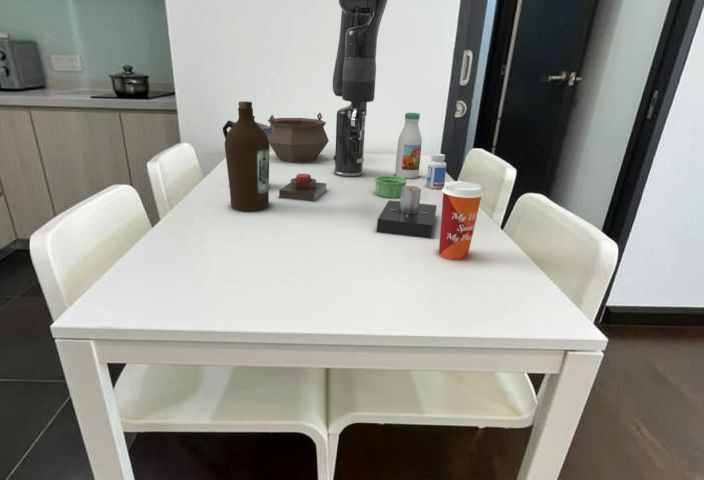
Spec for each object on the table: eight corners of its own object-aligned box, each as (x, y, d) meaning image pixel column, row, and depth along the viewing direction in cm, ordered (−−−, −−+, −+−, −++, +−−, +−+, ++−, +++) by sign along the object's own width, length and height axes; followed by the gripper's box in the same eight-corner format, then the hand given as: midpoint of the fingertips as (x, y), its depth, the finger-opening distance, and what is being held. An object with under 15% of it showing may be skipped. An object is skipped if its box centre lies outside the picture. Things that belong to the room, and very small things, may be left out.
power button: (299, 179, 131) (299, 173, 130) (312, 180, 130) (312, 174, 129) (294, 182, 127) (294, 176, 126) (308, 183, 126) (308, 177, 125)
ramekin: (369, 196, 131) (370, 180, 129) (379, 188, 138) (380, 174, 136) (400, 200, 128) (402, 184, 126) (408, 192, 135) (410, 177, 133)
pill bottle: (446, 186, 143) (450, 154, 139) (439, 190, 139) (444, 157, 135) (430, 183, 146) (433, 152, 142) (423, 187, 142) (426, 154, 138)
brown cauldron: (303, 150, 190) (304, 108, 183) (341, 161, 174) (343, 115, 167) (252, 156, 176) (250, 111, 169) (288, 168, 160) (287, 118, 153)
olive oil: (221, 210, 114) (213, 102, 104) (239, 199, 124) (233, 99, 113) (262, 214, 112) (258, 105, 102) (276, 202, 122) (274, 101, 111)
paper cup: (450, 264, 88) (461, 192, 82) (425, 250, 94) (434, 182, 88) (481, 258, 91) (494, 188, 86) (455, 245, 98) (465, 179, 92)
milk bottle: (392, 177, 153) (397, 113, 144) (398, 172, 159) (403, 111, 151) (415, 180, 150) (422, 115, 141) (420, 175, 156) (427, 112, 148)
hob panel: (387, 211, 118) (388, 199, 116) (435, 216, 115) (436, 204, 114) (376, 231, 103) (377, 218, 102) (430, 238, 101) (432, 224, 100)
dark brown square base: (293, 187, 136) (293, 174, 135) (326, 190, 134) (326, 177, 132) (279, 198, 126) (278, 183, 124) (314, 201, 124) (314, 187, 122)
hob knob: (400, 207, 110) (402, 183, 108) (419, 209, 109) (421, 185, 107) (398, 213, 106) (400, 188, 104) (417, 215, 106) (420, 190, 103)
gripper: (371, 81, 100) (366, 161, 108) (378, 78, 112) (373, 151, 119) (337, 79, 101) (334, 159, 109) (348, 76, 113) (344, 149, 121)
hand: (355, 154), depth 114 cm, fingers closed
